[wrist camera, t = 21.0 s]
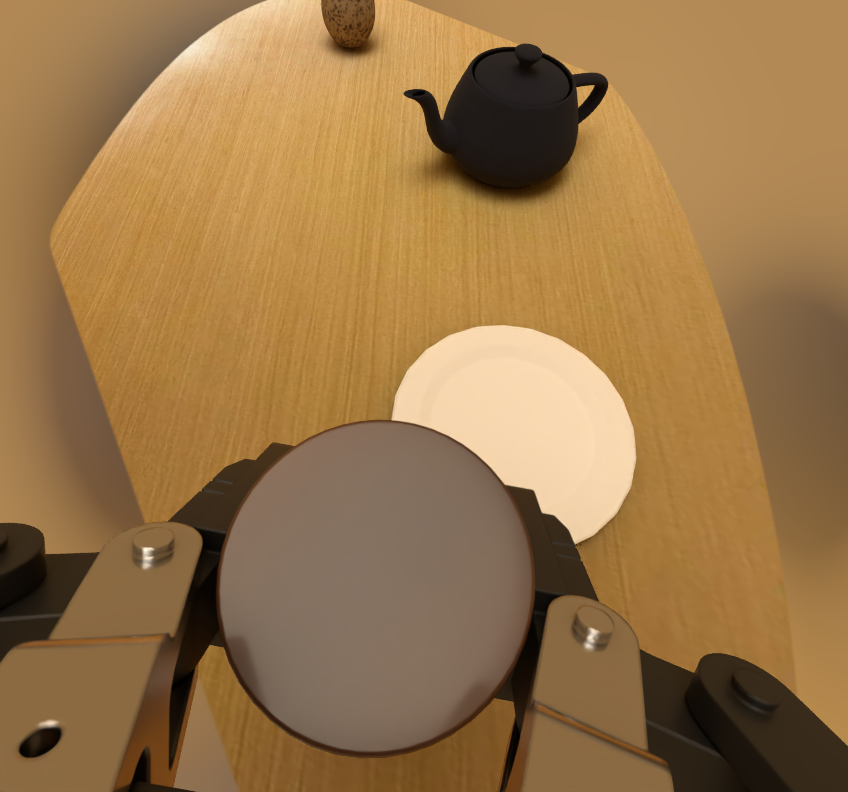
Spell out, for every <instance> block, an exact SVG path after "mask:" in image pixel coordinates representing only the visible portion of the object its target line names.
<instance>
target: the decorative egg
mask: <svg viewBox="0 0 848 792" xmlns="http://www.w3.org/2000/svg"><path fill="white" fill-rule="evenodd" d="M321 6H322V14H323V19H324V23H325V25H326V28H327V30H328V32H329V33H330V35H331V36H332V38H333V39H334V40H335V41H336V42H337V43H339V44H340V45H342V46H344V47H348V48H354V47H358V46H360V45H361V44H363V43H364V42H365V41H366V40H367V39H368V37H369V35H370V34H371V32H372V29H373V26H374V21H375V3H374V0H321Z"/></svg>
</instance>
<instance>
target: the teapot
mask: <svg viewBox="0 0 848 792" xmlns="http://www.w3.org/2000/svg"><path fill="white" fill-rule="evenodd" d="M588 85H595V86H594V89H593V90H592V92H591V94H590V95H589V96H588V98H587V99H586V100H585V101H584V103H583V104H582V105H581V106H580V107H579V108H578V100H577V89H576V87H580V86H588ZM607 89H608V81H607V79H606V78H605V77H604V76H603V75H601V74H598V73H581V74H574V75H572V74H571V72H570V71H569V70H568V69H567V68H566V67H565V66H564V65H563V64H562V63H561V62H559V61H558V60H556V59H555V58H553V57H551V56H549V55H546V54H544V53H542V51H541V49H540V48H538V47H537V46H535V45H532V44H520V45H518V46H517V47H501V48H495V49H491V50H488V51H485V52H483V53H481V54H480V55H478V56H477V57H476V58H474V59H473V61H472V62H471V63H470V65H469V66H468V68H467V69H466V71H465V73H464V74H463V76H462V77H461V79H460V81H459V82H458V84H457V86H456V88H455V89H454V91H453V93H452V95H451V97H450V100H449V102H448V105H447V107H446V110H445V114H444V118H443V120H442V119H441V118H440V115H439V111H438V106H437V103H436V100H435V98H434V97H433V95H432V94H431V93H430V92H428V91H426V90H422V89H413V90H408V91H405V92H404V95H405V96H406V97H408V98H411V99H414V100H416V101H417V102H418V103H419V104H420V105H421V107H422V109H423V112H424V116H425V121H426V127H427V131H428V134H429V136H430V138H431V140H432V142H433V143H434V145H435V146H436V147H437V148H438V149H440V150H441V151H443V152H445V153H448V154H451V156H452V157H453V159H454V160H455V161H456V162H457V163H458V165H459V166H461V167H462V168H463V169H464V170H465V171H466V172H467V173H468V174H469V175H471V176H472V177H473V178H475V179H477V180H478V181H480V182H483V183H485V184H488V185H491V186H495V187H500V188H522V187H527V186H530V185H533V184H537V183H540V182H542V181H545V180H547V179H549V178H551V177H552V176H554V175H555V174H557V173H558V172H559V171H560V170H562V169H563V168H564V166H565V165H566V164H567V163H568V161H569V160H570V158H571V156H572V154H573V151H574V148H575V145H576V140H577V134H578V124H579V123H580V122H582V121H583V120H584V119H585V118H586V117H588V116H589V115H590V114H591V113H592V112H593V111H594V110H595V108H596V107H597V106H598V105H599V104H600V102H601V101H602V99H603V97H604V96H605V94H606V91H607Z"/></svg>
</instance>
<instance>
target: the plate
mask: <svg viewBox="0 0 848 792" xmlns="http://www.w3.org/2000/svg"><path fill="white" fill-rule="evenodd" d="M391 420H396V421H403V422H409V423H414V424H418V425H421V426H425V427H428V428H432V429H434V430H436V431H439V432H441V433H443V434H446V435H448V436H450V437H451V438H453V439H455V440H457V441H458V442H460V443H462V444H463V445H465V446H466V447H467V448H469V449H470V450H471V451H473V452H474V453H476V454H477V455H478V456H479V457H480V458H481V459H482V460H483V461H484V462H485V463H486V464H488V465H489V466H490V467H491V468H492V470H493V471H494V472H495V473H496V474H497V476H498V477H499V478H500V479H501V480H502V482H503V483H504V484H505V485H510V486H515V487H521V488H526V489H532V490H534V492H535V494H536V497H537V500H538V503H539V506H540V509H541V512H542V513H545V514H551V515H554V516H555V517H556V518H557V519H558V520H559V521H560V522H561V523H562V524H563V525H564V526H565V527H566V528H567V529H568V530H569V531H570V534H571V536H572V539H573V541H574V543H575V544H577V543H579V542H581V541H583V540H585V539H587V538H589V537H591V536H594V535H595V534H596V533H597V532H598V531H599V530H600V529H601V528H602V527H603V526H604V525H605V524H606V523H607V522H608V521H610V520H611V519H612V518H613V517H614V516H615V515H616V514H617V512H618V510H619V508H620V507H621V505H622V503H623V501H624V499H625V497H626V495H627V494H628V492H629V490H630V488H631V484H632V479H633V474H634V468H635V463H636V448H635V438H634V428H633V426H632V423H631V420H630V418H629V415H628V412H627V410H626V407H625V404H624V402H623V400H622V398H621V397H620V395H619V394H618V392H617V391H616V389H615V388H614V386H613V385H612V383H611V382H610V380H609V379H608V377H607V376H606V375H605V374H604V373H603V372H602V371H601V370H600V369H599V368H598V367H597V366H596V365H595V364H594V363H593V362H592V361H591V360H590V359H588V358H587V357H586V356H585V355H584V354H583V353H581V352H579V351H578V350H576V349H574V348H573V347H571V346H570V345H568V344H566V343H565V342H563V341H561V340H560V339H558V338H555V337H552V336H549V335H547V334H544V333H541V332H538V331H536V330H533V329H528V328H521V327H514V326H507V325H496V326H483V327H474V328H471V329H468V330H464V331H461V332H458V333H455V334H452V335H449V336H447V337H446V338H444V339H442V340H441V341H439V342H438V343H436V344H434V345H433V346H431V347H430V348H428V349H426V350H425V352H424V353H423V354H422V355H421V356H420V357H419V358H418V359H417V360H416V361H415V362H414V363H413V365H412V366H411V367H410V368H409V369H408V370H407V372H406V374H405V376H404V378H403V381H402V383H401V385H400V387H399V389H398V391H397V393H396V395H395V401H394V407H393V413H392V419H391Z"/></svg>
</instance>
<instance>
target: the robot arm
mask: <svg viewBox="0 0 848 792" xmlns="http://www.w3.org/2000/svg"><path fill="white" fill-rule="evenodd" d="M293 447H294V446H291V445H286V444H280V443H272V444H271V445H270V446H269V447H268V448H267V449H266V450H265V451H264V452H263V453H262V454H261V455H260V456H259V457H258V458H257V459H256V460H250V459H243V460H241V461H239V462H236V463H234V464H232V465H229V466H227V467H225V468H224V469H223V470H222V471H221V472H220V473H219V474H218V475H217V476H215V477H214V478H213V481H210V482H209V483H208V484H207V485H206V486H205V487H204V488H203V489H202V492H201V491H200V492H198V493H197V494H196V495H195V496H194V497H193V498H192V499H191V500H190V501H189V502H188V503H187V504H186V505H185V506H184V507H182V508H181V509H180V510H179V511H178V512H177V513H176V514H175V515H174V516H173V517H172V518H171V519H170V520H169V521H168V522H152V523H146V524H141V525H138V526H134V527H131V528H129V529H127V530H124V531H122V532H120V533H118V534H117V535H115V536H114V537H112V538H111V539H110V540H109V541H108V542H107V543H106V544H105V545H104V547H103V548H102V550H101V551H100V552H97V553H73V554H45V542H44V536H43V533H41V531H40V530H38V529H37V528H35V527H32V526H29V525H25V524H18V523H0V792H194V791H189V790H184V789H178V788H173V786H174V782H175V777H176V773H177V768H178V763H179V759H180V754H181V750H182V746H183V740H184V737H185V732H186V727H187V723H188V718H189V714H190V710H191V705H192V701H193V696H194V691H195V687H196V682H197V678H198V663H199V661H200V659H201V658H202V656H203V655H204V653H205V651H206V650H207V648H208V647H209V645H214V646H219V647H224V646H223V643H222V640H221V635H220V630H219V625H218V620H217V609H216V581H217V570H218V565H219V560H220V555H221V550H222V546H223V543H224V540H225V537H226V534H227V531H228V528H229V526H230V524H231V522H232V520H233V517H234V515H235V513H236V511H237V509H238V507H239V506H240V504H241V502H242V501H243V499H244V498H245V496H246V494H247V493H248V491H249V490H250V489H251V487H252V486H253V485H254V484H255V482H256V481H257V480H258V479H259V477H260V476H261V475H262V474H263V473H264V472H265V471H266V470H267V469H268V468H269V467H270V466H271V465H272V464H273V463H274V462H275V461H276V460H277V459H278V458H280V457H281V456H282V455H284V454H285V453H286V452H287V451H289V450H290V449H291V448H293ZM505 486H506V488H507V489H508V491H509V492H510V494H511V495H512V497H513V498H514V500H515V502H516V504H517V507H518V509H519V511H520V513H521V515H522V517H523V520H524V523H525V526H526V528H527V531H528V534H529V538H530V543H531V547H532V552H533V557H534V567H535V601H534V608H533V615H532V621H531V625H530V628H529V632H528V635H527V639H526V643H525V645H524V647H523V650H522V652H521V654H520V657H519V659H518V662H517V664H516V666H515V667H514V669H513V671H512V673H511V674H510V676H509V678H508V679H507V681H506V683H505V685H504V686H503V687H502V688H501V690H500V691H499V692H498V694H497V695H496V696H495V698H497V699H502V700H508V701H513V702H514V708H515V715H516V716H515V719H514V723H513V726H512V729H511V733H510V736H509V741H508V745H507V750H506V754H505V759H504V764H503V768H502V773H501V777H500V782H499V787H498V791H497V792H848V746H847V745H846V744H845V743H844V742H843V741H842V740H841V739H840V738H839V737H838V736H837V735H836V734H835V733H834V732H832V730H830V729H829V728H828V727H827V726H826V725H825V724H824V723H823V722H822V721H821V720H820V719H819V718H818V717H817V716H816V715H815V714H814V713H813V712H812V711H810V709H809V708H808V707H807V706H806V705H805V704H803V702H802V701H800V700H799V699H798V698H797V697H796V696H795V695H794V694H793V693H792V692H791V691H790V690H789V689H788V688H787V687H786V686H785V685H783V684H782V683H781V682H780V681H778V680H777V679H776V678H775V677H773V676H772V675H770V674H769V673H767V672H766V671H764V670H763V669H761V668H759V667H757V666H756V665H754V664H752V663H750V662H748V661H746V660H743V659H740V658H738V657H735V656H731V655H727V654H721V653H712V654H708V655H705V656H703V657H702V658H701V659H700V661H699V664H698V666H697V668H696V671H695V673H692V672H690V671H688V670H685V669H683V668H681V667H678V666H676V665H673V664H671V663H669V662H666V661H664V660H662V659H659V658H657V657H655V656H653V655H650V654H648V653H646V652H645V651H643V650H641V649H639V642H638V639H637V636H636V634H635V632H634V631H633V629H632V627H631V626H630V625H629V624H628V623H627V622H626V621H625V620H624V619H623V618H622V617H621V616H620V615H619V614H618V613H616V612H615V611H614V610H612V609H611V608H609V607H608V606H606V605H604V604H602V603H600V602H599V600H598V598H597V596H596V593H595V591H594V588H593V586H592V584H591V581H590V579H589V577H588V574H587V572H586V569H585V567H584V565H583V562H582V561H580V559H581V558H580V555H579V553H578V550H577V548H575V543H574V541H573V539H572V536H571V534H570V531H569V530H568V529H567V528H566V527H565V526H564V525H563V524H562V523H561V522H560V521H559V520H558V519H557V518H556V517H555V516H554V515H551V514H545V513H542V512H541V509H540V506H539V503H538V500H537V497H536V494H535V492H534V490H532V489H526V488H521V487H515V486H510V485H505Z"/></svg>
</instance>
